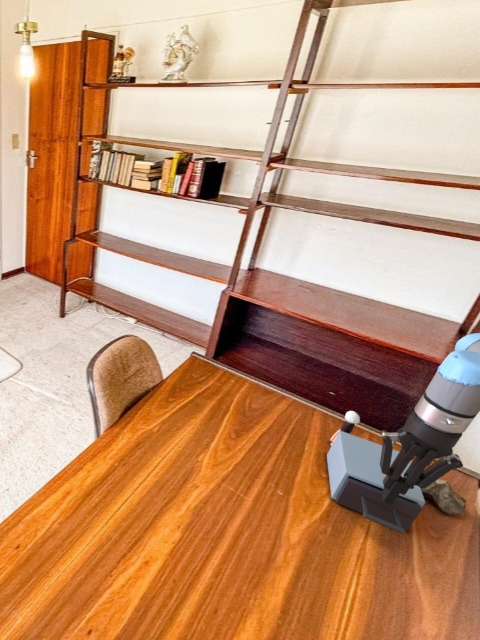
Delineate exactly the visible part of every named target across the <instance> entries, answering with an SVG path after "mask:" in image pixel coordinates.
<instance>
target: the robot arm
mask: <svg viewBox="0 0 480 640" xmlns="http://www.w3.org/2000/svg"><path fill="white" fill-rule="evenodd" d="M413 409H414V410H412V412H411V413H410V415H409V416H408V418H407V420H406V421H405V423H404V425H403V427H401V428H399V429H397V431H396V432H388V430H385V429H383V430H382V429H381V431H380V435H381V439H382V444H381V445H382V452H381V458H380V467H381V471H382V473H383V474H385V475H386V476H385V478H384V480H383V485H384V489H383V491H382V492H381V494H382V498H383V502H385V503H388V504H390V505H392V504H393V503H394V501H395V500H396V498H397V497H398V495H399V494H402V495H405V494H406V493H407V491H408V490H409V489H414V486H419V487H420V488H426V487H427V486H429V485H430V484H432V483H433V482H435V481H436V480H440V478H442V477H444V476H445V475H446V474H448V473H450V472H451V471H452V470H456V469H460V468H463V467H464V464H463V462H462V459H461V458H460V455H459V454H456V453H454V450H453V448H454V447H455V446H456V445H457V444H458V442H459V441H460V439H461V438H462V437H463V433H464V432H466V431H467V429H468V428H469V426H470V425H471V423H472V422H473V421H474V419H475V418H476V417H477V416H478V414H479V413H480V332H477V333H470V334H467V335H465V336H463V337H461V338H460V339H459V340H458V341H457V342H456V343H455V345H454V350H453V351H451V352H450V353H449V354H448V355H447V356H446V357H445V358H444V360H443V361H442V363H441V364H440V365H439V366H438V367H437V371H436V372H435V374H434V376H433V378H432V379H431V380H430V382H429V384H428V386H427V388H426V389H425V391H424V393H423V394H422V396H421V397H420V399H419V400H418V401H417V403H416V404H415V406H414V408H413ZM397 441H399V442H400V445H401V448H400V451H399V454H398V455H397V457H396V458H395V460H394V461H393V463H392V465H391V466H390V464H391V457H392V451H393V449H394V447H393V446H394V445H395V444H396V443H397ZM433 460H436V461H435V462H433ZM410 461H411V464H410V466H409V467H408V469H407V470H406V472H405V473H404V475H403V476H404V477H402V476H401V474H402V473H403V471H404V470H405V468H406V467H407V465H408V464H409V462H410ZM432 462H433V463H432ZM431 463H432V464H431Z"/></svg>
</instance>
